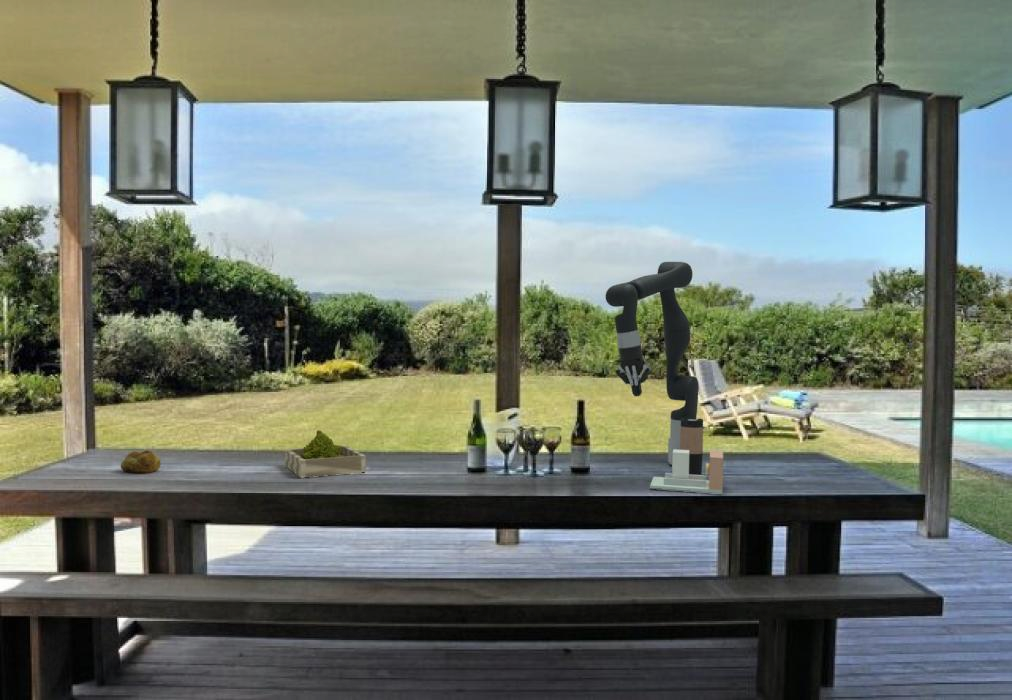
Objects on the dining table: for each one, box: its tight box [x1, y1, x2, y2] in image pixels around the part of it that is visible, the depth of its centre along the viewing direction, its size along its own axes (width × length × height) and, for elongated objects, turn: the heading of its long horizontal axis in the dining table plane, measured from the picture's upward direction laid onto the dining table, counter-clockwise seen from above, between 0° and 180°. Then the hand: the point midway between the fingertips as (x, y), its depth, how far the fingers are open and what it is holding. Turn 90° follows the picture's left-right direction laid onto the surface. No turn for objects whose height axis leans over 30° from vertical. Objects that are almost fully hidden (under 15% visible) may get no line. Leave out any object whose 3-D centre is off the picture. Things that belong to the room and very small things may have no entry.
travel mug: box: [680, 418, 704, 475], centre depth 269 cm, size 8×8×20 cm
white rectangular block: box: [671, 449, 689, 479], centre depth 253 cm, size 5×6×10 cm
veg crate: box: [284, 445, 367, 479], centre depth 275 cm, size 23×22×6 cm
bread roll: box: [120, 449, 162, 474], centre depth 268 cm, size 13×10×8 cm
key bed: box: [649, 449, 724, 494], centre depth 253 cm, size 22×14×12 cm, turn 75°
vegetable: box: [300, 429, 343, 460], centre depth 275 cm, size 15×16×15 cm
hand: (637, 395), depth 262 cm, fingers closed
